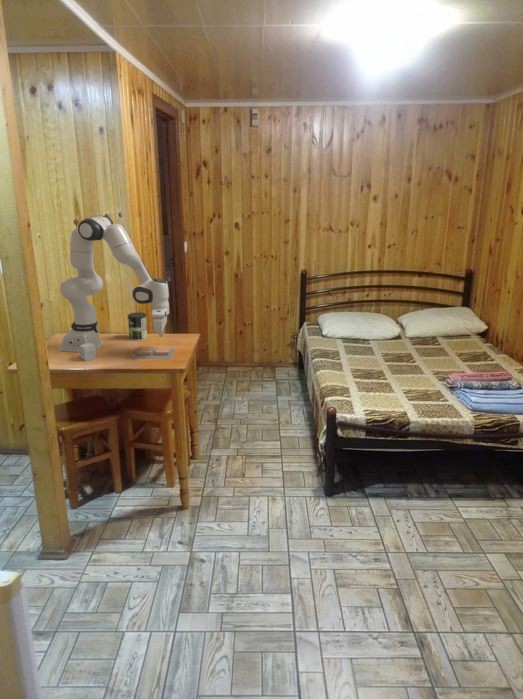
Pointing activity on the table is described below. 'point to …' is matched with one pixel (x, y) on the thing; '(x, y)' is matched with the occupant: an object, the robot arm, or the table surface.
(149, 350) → the tile
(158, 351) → the tile
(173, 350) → the mat
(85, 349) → the skincare box
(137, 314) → the coffee can
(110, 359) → the table surface
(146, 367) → the table surface
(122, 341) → the table surface
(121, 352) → the table surface
